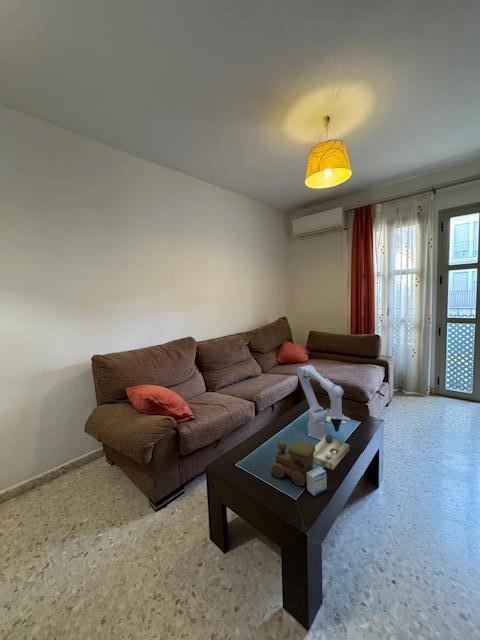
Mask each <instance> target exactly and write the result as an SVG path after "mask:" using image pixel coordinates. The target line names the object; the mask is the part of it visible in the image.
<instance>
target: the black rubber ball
mask: <svg viewBox="0 0 480 640" xmlns="http://www.w3.org/2000/svg"><path fill="white" fill-rule="evenodd" d="M325 439H326V441H327V442H331V441H332V440H333V439H334V438H333V436H332V435H331V434H327V435H326V436H325Z"/></svg>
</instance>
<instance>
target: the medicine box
mask: <svg viewBox="0 0 480 640" xmlns="http://www.w3.org/2000/svg"><path fill="white" fill-rule="evenodd" d="M306 474H307V483H306V490H307V491H308V492H309V494H311V495H312V496H313V497H315V496H317V495H319V494H321V493H322V492H324V491H326V490H327V488H328V487H327V486H328V485H327V471H326V470H325V469H323V468H322V467H321V466H318V467H315V468H314V469H313V470H311V471H309V472H307V473H306Z"/></svg>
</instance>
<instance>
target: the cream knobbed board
mask: <svg viewBox="0 0 480 640" xmlns="http://www.w3.org/2000/svg"><path fill="white" fill-rule="evenodd" d="M333 450H335V451H337V453H338V454H337V455H336V454H333V453H331V452H332V451H333ZM327 451H329V452H330V453H331V457H330V458H327V457H326V455H325V453H326V452H327ZM349 451H350V443H349V444H348V443H346V442H343V441H340V440H337V439H334V438H333V440H332V441H331V442H327V441H326V439H325V437H324V438H323V439H322V440H320V441H319V442H318V443H317V444H316V445H315V452H314V453H313V463H315V464H318V465H320V466H322V467H324V468H327V469H330V470H332V471H333V470H334V469H335V468H336V467H337V466H338V464H339V463H340V462H341V460H343V458H344V457H345V456H346V455H347V453H349ZM345 454H346V455H345Z"/></svg>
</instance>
